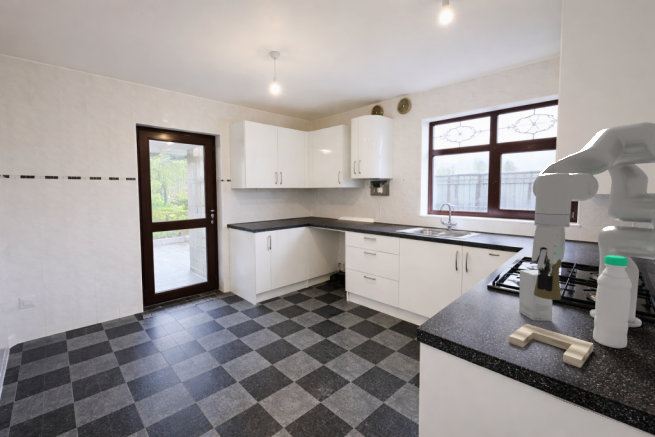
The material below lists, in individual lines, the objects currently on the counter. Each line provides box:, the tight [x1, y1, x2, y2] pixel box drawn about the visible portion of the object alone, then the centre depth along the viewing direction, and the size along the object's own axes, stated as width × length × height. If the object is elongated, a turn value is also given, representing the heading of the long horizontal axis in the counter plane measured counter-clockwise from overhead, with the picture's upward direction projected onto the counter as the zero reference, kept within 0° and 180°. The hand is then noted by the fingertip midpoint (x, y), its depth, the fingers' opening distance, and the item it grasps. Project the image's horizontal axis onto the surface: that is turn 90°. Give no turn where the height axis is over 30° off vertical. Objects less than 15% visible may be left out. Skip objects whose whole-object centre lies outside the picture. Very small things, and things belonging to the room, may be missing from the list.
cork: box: [534, 259, 562, 301], centre depth 81 cm, size 6×6×11 cm
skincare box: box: [518, 269, 553, 322], centre depth 104 cm, size 8×7×16 cm
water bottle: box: [592, 255, 632, 349], centre depth 85 cm, size 7×7×25 cm
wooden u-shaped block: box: [508, 323, 594, 368], centre depth 84 cm, size 13×16×2 cm
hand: (547, 287), depth 81 cm, fingers closed on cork, 4 cm apart
